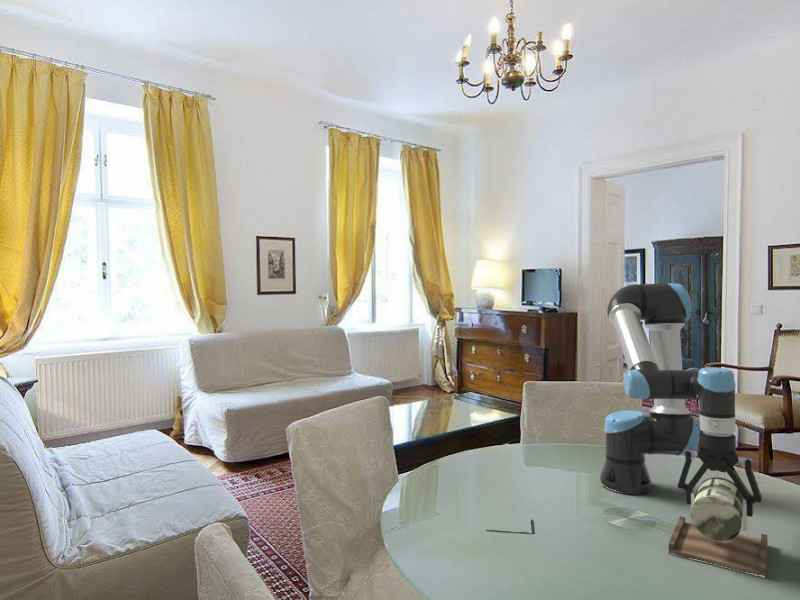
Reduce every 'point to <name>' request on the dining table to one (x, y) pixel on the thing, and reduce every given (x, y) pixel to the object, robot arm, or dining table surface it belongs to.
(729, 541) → the cradle
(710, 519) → the coffee can
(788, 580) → the dining table surface
